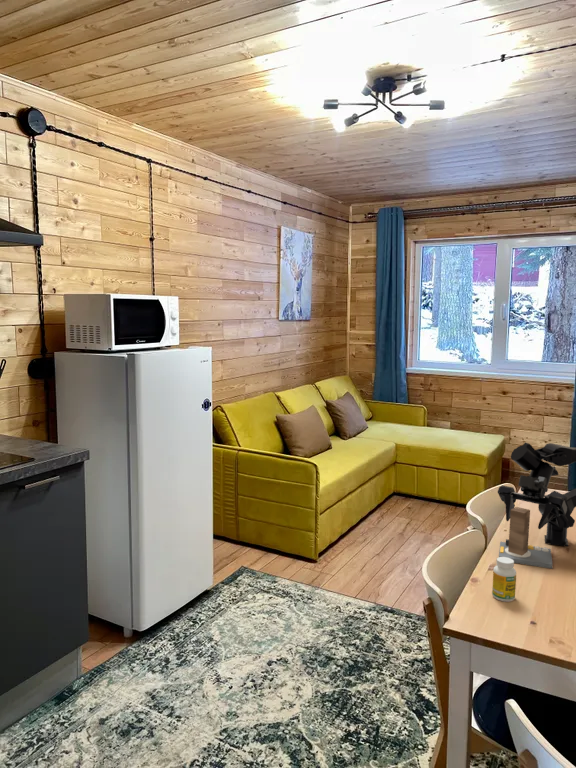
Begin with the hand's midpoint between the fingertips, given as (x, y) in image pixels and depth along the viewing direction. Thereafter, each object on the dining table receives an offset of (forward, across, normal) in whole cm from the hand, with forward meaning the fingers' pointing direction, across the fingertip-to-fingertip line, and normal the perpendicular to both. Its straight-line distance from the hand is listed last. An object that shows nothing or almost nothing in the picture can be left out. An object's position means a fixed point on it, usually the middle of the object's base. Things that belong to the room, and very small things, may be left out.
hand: (522, 524), depth 167 cm
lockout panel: (+7, +1, +6) cm, 9 cm away
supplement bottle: (+27, +7, -14) cm, 31 cm away
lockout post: (+7, 0, +4) cm, 8 cm away
